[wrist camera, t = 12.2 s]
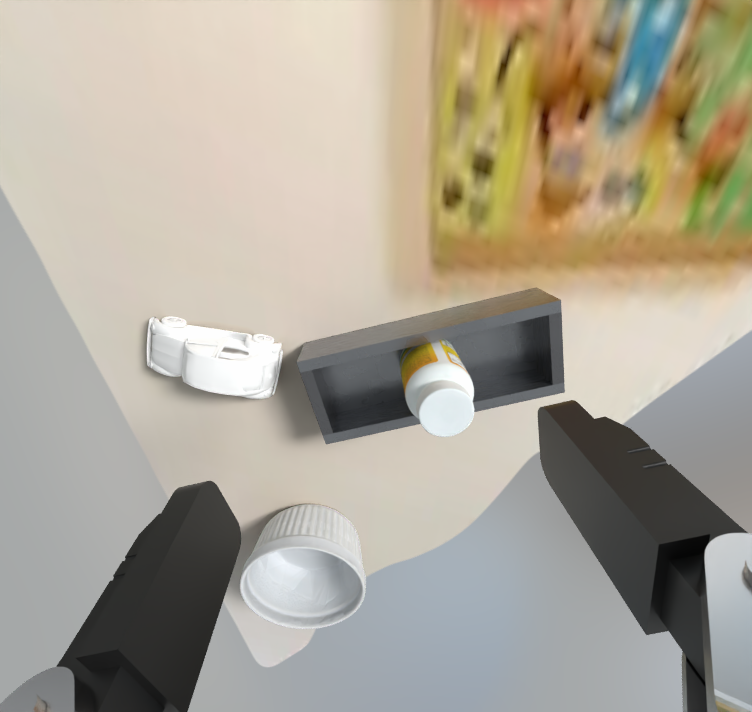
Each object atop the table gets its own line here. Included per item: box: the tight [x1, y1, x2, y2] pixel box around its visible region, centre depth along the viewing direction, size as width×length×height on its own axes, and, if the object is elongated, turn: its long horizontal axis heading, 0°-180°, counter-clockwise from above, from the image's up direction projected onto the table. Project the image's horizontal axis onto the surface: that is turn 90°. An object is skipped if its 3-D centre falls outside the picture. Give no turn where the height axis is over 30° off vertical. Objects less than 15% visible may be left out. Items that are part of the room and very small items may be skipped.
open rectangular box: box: [296, 288, 565, 444], centre depth 34 cm, size 9×22×4 cm, turn 104°
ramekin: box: [240, 504, 366, 629], centre depth 42 cm, size 13×13×7 cm
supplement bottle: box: [400, 339, 474, 437], centre depth 30 cm, size 5×5×10 cm
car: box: [147, 316, 283, 399], centre depth 33 cm, size 12×6×5 cm, turn 74°
